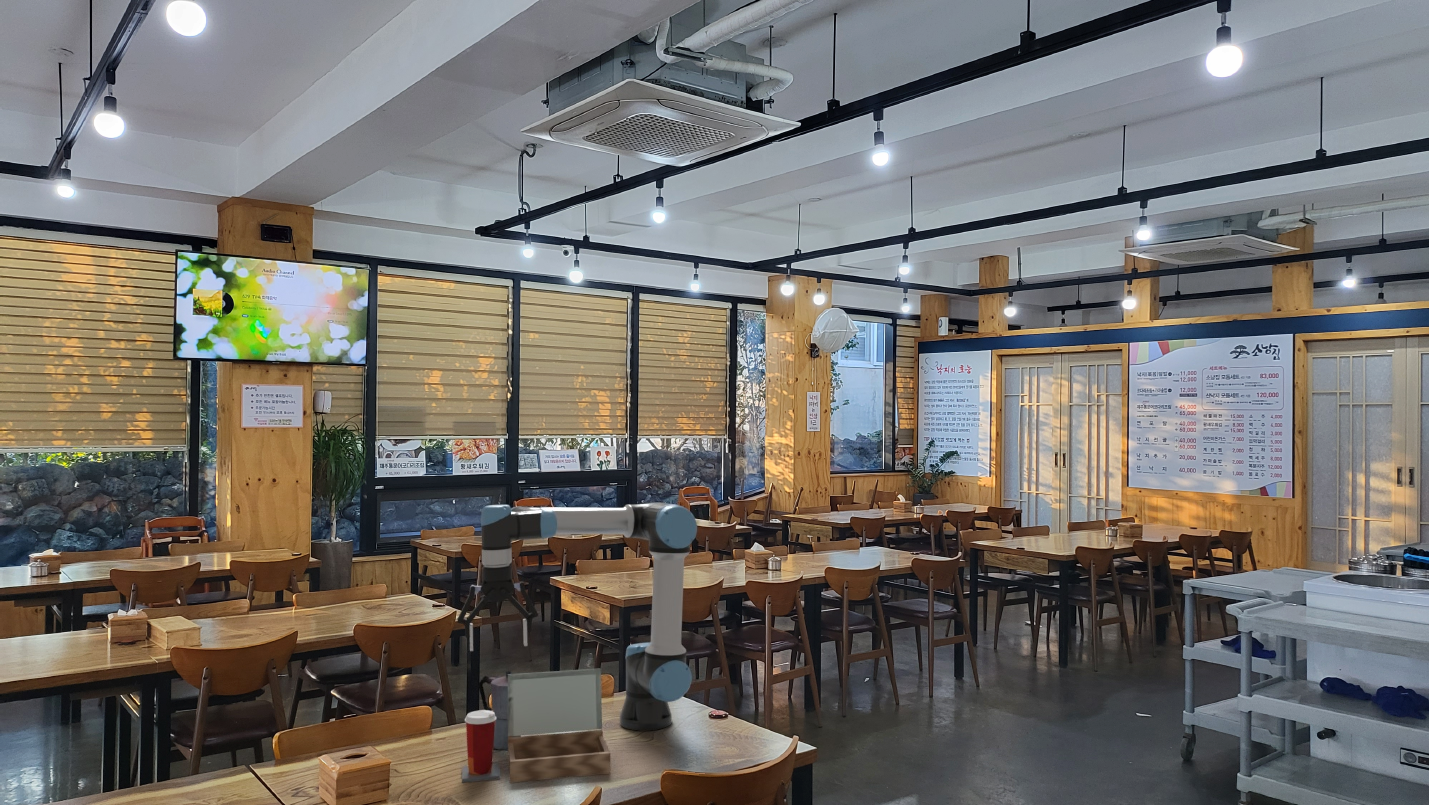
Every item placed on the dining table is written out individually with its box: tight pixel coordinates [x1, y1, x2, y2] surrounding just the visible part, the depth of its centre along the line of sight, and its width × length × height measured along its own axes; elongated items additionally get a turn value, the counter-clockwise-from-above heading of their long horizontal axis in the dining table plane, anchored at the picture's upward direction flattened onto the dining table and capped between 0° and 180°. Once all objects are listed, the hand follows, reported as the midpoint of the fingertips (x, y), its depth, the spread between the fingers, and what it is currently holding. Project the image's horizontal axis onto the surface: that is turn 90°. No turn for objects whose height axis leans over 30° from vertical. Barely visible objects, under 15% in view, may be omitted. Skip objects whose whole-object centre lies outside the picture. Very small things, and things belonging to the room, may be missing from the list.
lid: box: [508, 668, 603, 736], centre depth 244 cm, size 24×15×1 cm
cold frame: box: [507, 729, 611, 784], centre depth 234 cm, size 24×15×6 cm, turn 105°
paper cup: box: [464, 709, 496, 775], centre depth 229 cm, size 8×8×14 cm
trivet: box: [461, 762, 501, 783], centre depth 229 cm, size 9×9×1 cm
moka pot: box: [478, 670, 522, 751], centre depth 251 cm, size 10×15×20 cm, turn 78°
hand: (498, 647), depth 238 cm, fingers open, 13 cm apart
